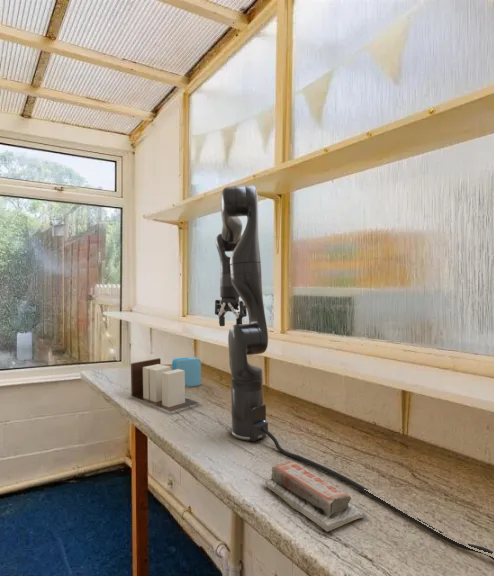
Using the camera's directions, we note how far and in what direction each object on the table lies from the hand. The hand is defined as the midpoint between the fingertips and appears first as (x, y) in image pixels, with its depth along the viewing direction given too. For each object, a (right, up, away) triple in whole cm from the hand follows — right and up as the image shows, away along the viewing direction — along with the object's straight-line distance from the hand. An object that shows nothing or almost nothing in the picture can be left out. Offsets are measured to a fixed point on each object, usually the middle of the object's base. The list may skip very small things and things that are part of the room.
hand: (230, 327), depth 148 cm
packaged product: (+7, -30, -68) cm, 75 cm away
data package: (-16, -28, +21) cm, 38 cm away
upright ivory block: (-22, -28, -7) cm, 36 cm away
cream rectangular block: (-27, -28, -1) cm, 39 cm away
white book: (-30, -28, +2) cm, 40 cm away
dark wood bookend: (-26, -29, -1) cm, 38 cm away
